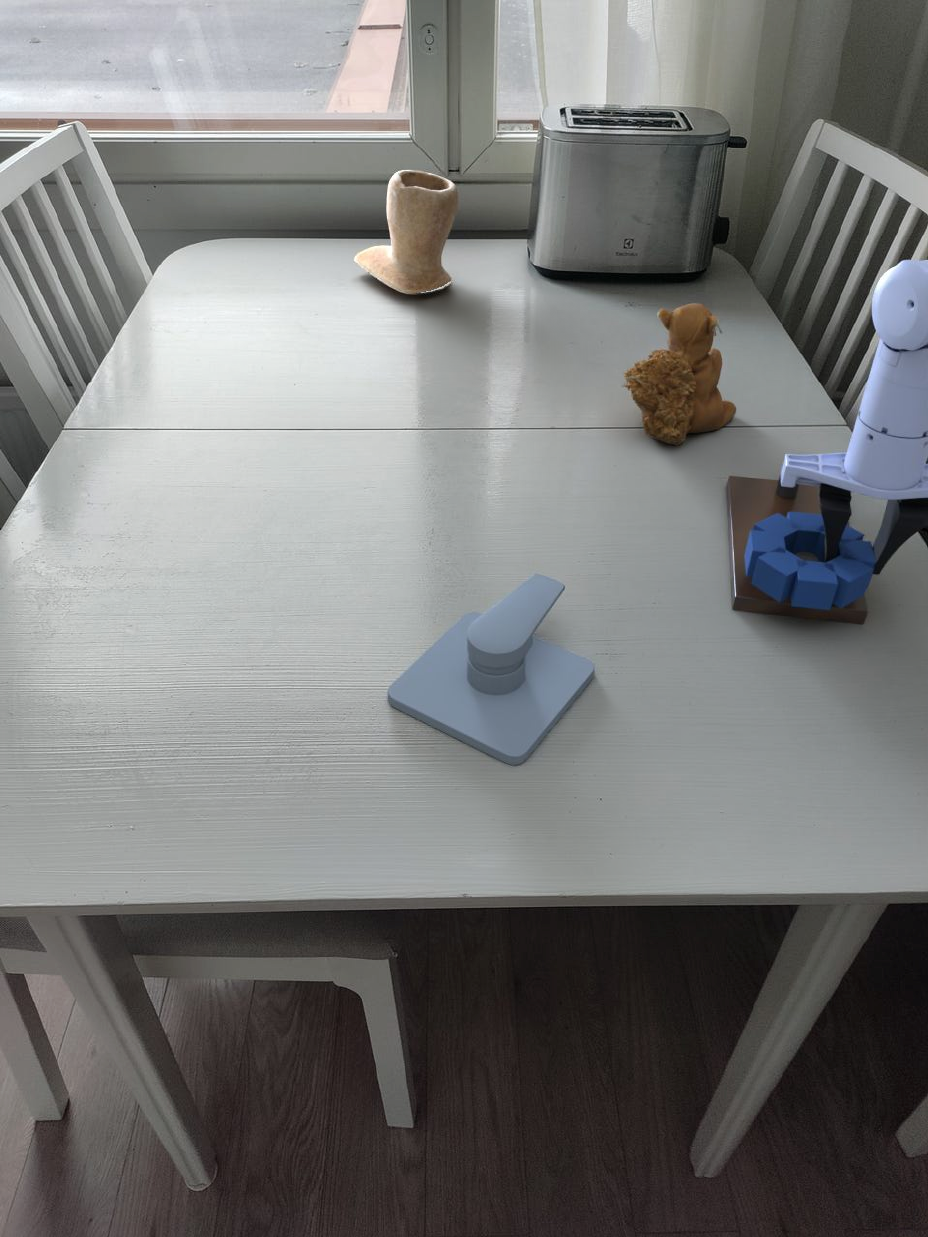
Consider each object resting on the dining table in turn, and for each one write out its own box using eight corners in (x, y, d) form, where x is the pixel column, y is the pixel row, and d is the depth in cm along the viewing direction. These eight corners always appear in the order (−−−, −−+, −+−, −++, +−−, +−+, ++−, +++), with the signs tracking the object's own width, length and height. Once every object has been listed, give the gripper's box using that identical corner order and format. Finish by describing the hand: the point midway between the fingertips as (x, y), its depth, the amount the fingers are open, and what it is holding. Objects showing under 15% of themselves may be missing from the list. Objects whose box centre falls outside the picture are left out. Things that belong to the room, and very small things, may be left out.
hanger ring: (856, 544, 85) (865, 518, 84) (873, 615, 78) (883, 588, 76) (742, 533, 87) (748, 507, 85) (748, 602, 79) (754, 575, 77)
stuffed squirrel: (739, 413, 110) (762, 301, 102) (688, 466, 101) (708, 348, 93) (660, 390, 115) (675, 281, 106) (604, 439, 106) (616, 325, 97)
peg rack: (837, 498, 97) (848, 459, 94) (863, 624, 82) (878, 583, 79) (726, 487, 98) (734, 449, 95) (732, 609, 83) (741, 568, 80)
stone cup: (473, 289, 139) (474, 180, 129) (401, 306, 134) (396, 194, 124) (421, 257, 149) (419, 153, 139) (353, 272, 144) (345, 166, 134)
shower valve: (620, 602, 75) (521, 717, 66) (613, 654, 79) (518, 769, 69) (487, 550, 81) (378, 649, 71) (486, 601, 84) (382, 702, 75)
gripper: (991, 405, 74) (935, 549, 82) (796, 386, 76) (762, 526, 85) (1009, 451, 68) (947, 599, 77) (799, 428, 71) (762, 573, 80)
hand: (851, 564), depth 81 cm, fingers closed on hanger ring, 3 cm apart
